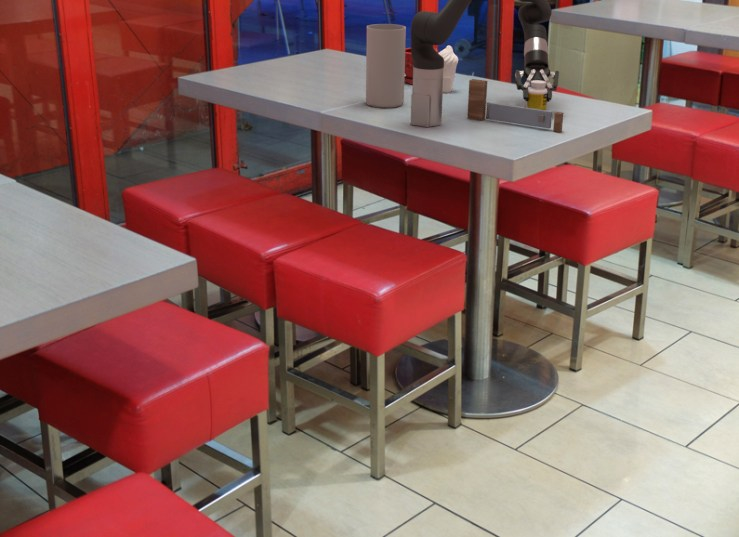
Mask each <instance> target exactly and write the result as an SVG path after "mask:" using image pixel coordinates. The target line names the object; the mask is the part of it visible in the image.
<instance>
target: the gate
mask: <svg viewBox="0 0 739 537" xmlns="http://www.w3.org/2000/svg"><path fill="white" fill-rule="evenodd" d="M552 117H553V111H550V110H547V109H546V110H539V109H532V108H527V107H523V106H518V105H509V104H502V103H496V102H487V101H486V114H485V120H490V121H497V122H503V123H508V124H509V123H510V124H516V125H517V124H518V125H524V126H530V127H537V128H542V129H543V128H544V129H551V128H552V120H553V118H552Z"/></svg>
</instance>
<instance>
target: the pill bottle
mask: <svg viewBox="0 0 739 537" xmlns="http://www.w3.org/2000/svg"><path fill="white" fill-rule="evenodd" d="M545 86H546V82H545V81H541V80H533V81H531V84H530V87H528V101H526V108H532V109H539V110H546V111H547V105H548V104H547V103H548V102H547V94H548V91H547V89H546V88H545Z"/></svg>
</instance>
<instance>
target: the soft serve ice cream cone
mask: <svg viewBox="0 0 739 537" xmlns="http://www.w3.org/2000/svg"><path fill="white" fill-rule="evenodd" d="M438 54H439V55H441V56H442V57H443V58H444V77H443V94H445V93H446V94H449V93H451V92H452V89H453V86H454V83H455V82H454V81H455V78H456V70H457V65H458V63H459V57H458V56H457V55H456V54H455V53H454V49H453V46H451V45H447V46H446V47H445V48H444V49H442V50H440V51H438Z"/></svg>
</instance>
